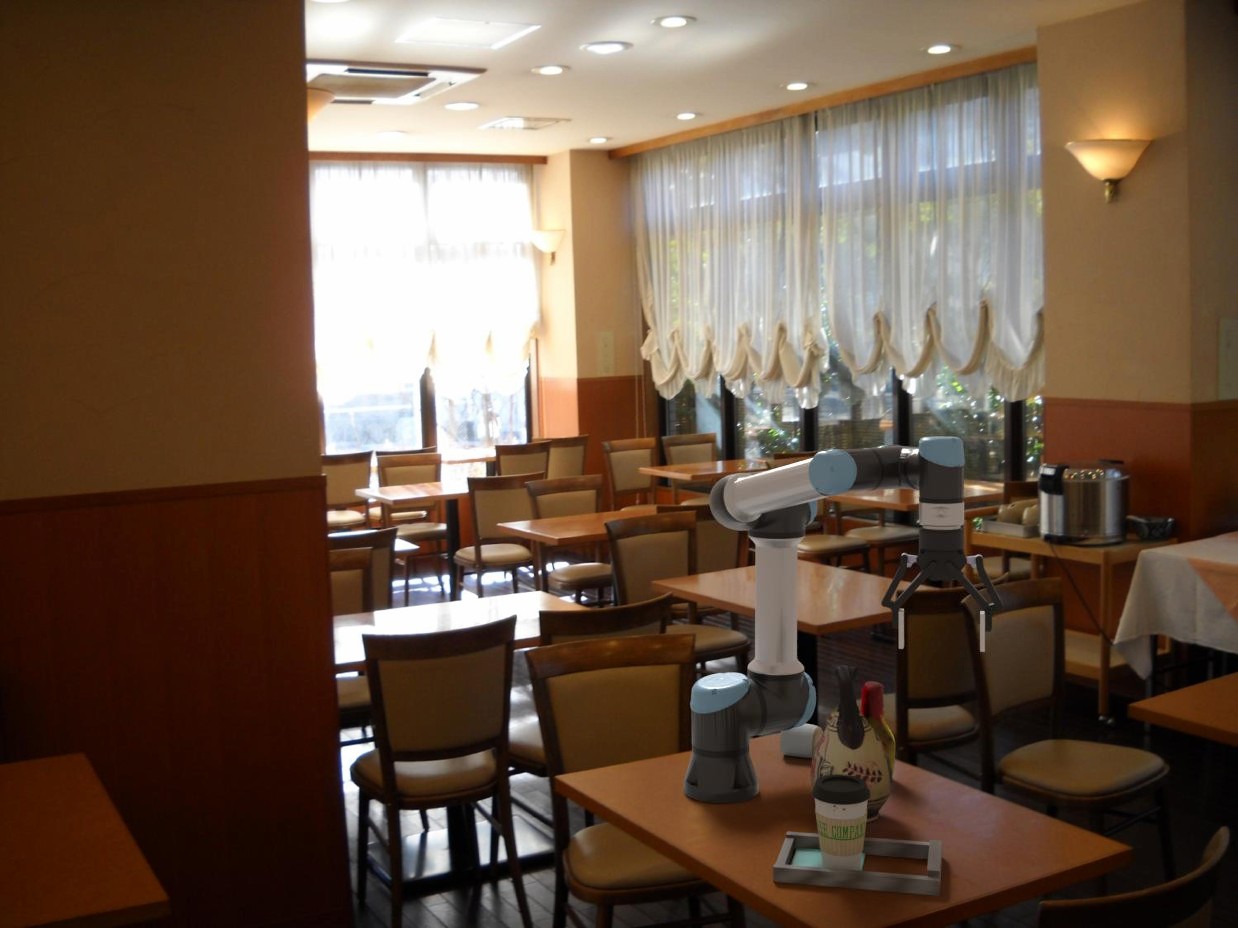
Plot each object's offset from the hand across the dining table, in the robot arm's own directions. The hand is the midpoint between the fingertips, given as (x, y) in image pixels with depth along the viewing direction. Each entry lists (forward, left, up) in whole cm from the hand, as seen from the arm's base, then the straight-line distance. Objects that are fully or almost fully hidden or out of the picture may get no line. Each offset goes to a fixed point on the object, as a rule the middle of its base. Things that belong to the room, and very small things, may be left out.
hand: (941, 648), depth 223 cm
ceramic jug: (-17, +16, -37) cm, 44 cm away
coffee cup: (-16, -11, -36) cm, 41 cm away
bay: (-14, -9, -37) cm, 40 cm away
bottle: (-15, +43, -37) cm, 58 cm away
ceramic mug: (-31, +55, -37) cm, 73 cm away
